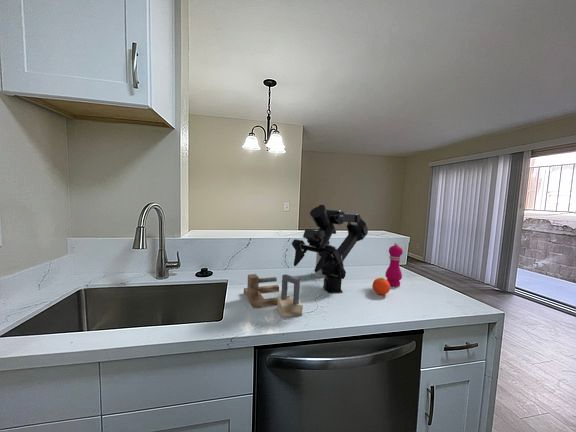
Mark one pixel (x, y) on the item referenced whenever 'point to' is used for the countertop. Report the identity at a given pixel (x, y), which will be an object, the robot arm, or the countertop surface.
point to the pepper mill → (394, 266)
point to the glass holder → (318, 256)
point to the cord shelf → (260, 291)
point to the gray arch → (296, 287)
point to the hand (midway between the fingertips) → (304, 268)
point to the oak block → (289, 307)
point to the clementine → (381, 286)
